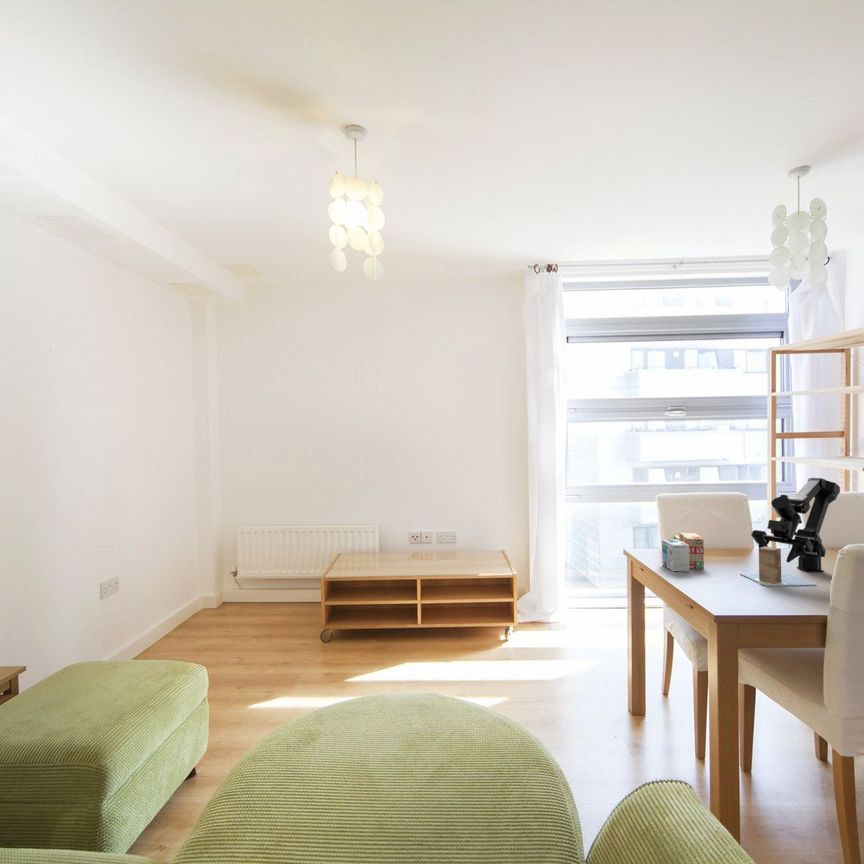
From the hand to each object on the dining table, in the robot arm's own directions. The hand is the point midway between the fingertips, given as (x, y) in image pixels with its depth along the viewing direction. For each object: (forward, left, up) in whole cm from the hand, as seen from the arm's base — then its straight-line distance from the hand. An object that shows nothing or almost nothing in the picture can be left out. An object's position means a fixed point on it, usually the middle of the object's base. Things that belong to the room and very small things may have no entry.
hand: (773, 559), depth 185 cm
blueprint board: (-2, -2, -8) cm, 9 cm away
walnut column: (+2, +1, -8) cm, 8 cm away
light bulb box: (+27, -20, -9) cm, 34 cm away
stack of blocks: (+17, -30, -9) cm, 35 cm away
